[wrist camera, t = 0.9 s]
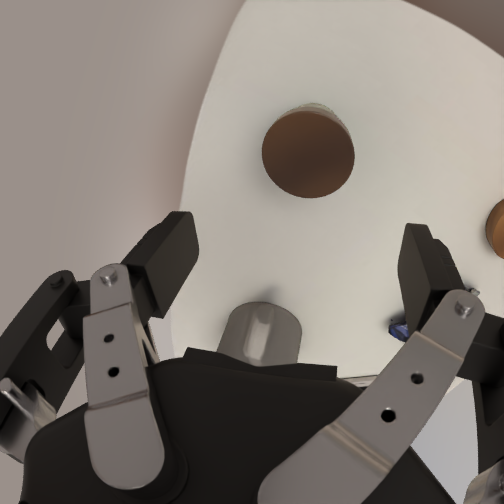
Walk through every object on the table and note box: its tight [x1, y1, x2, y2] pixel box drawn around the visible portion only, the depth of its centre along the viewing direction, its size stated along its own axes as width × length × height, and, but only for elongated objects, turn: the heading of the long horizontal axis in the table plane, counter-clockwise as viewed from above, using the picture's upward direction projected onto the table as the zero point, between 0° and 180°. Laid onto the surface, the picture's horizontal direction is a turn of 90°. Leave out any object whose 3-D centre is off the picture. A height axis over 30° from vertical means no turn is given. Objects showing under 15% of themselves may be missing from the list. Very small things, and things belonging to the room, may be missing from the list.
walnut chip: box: [262, 107, 355, 198], centre depth 20 cm, size 6×6×2 cm
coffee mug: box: [216, 302, 302, 366], centre depth 36 cm, size 13×10×10 cm
